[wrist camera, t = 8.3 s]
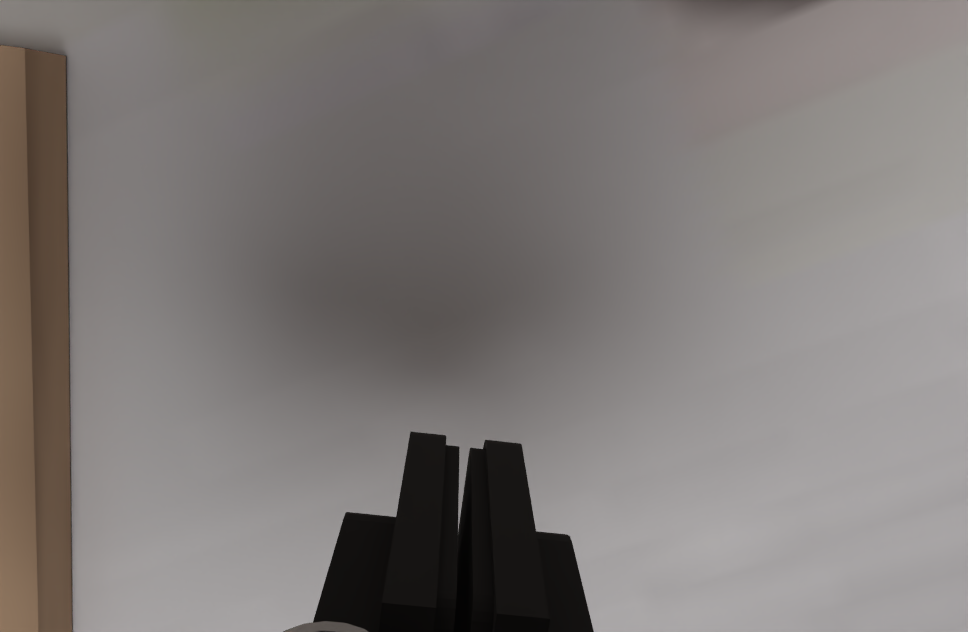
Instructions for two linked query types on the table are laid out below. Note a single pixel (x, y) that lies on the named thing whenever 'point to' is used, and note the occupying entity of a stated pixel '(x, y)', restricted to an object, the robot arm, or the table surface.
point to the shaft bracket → (34, 345)
